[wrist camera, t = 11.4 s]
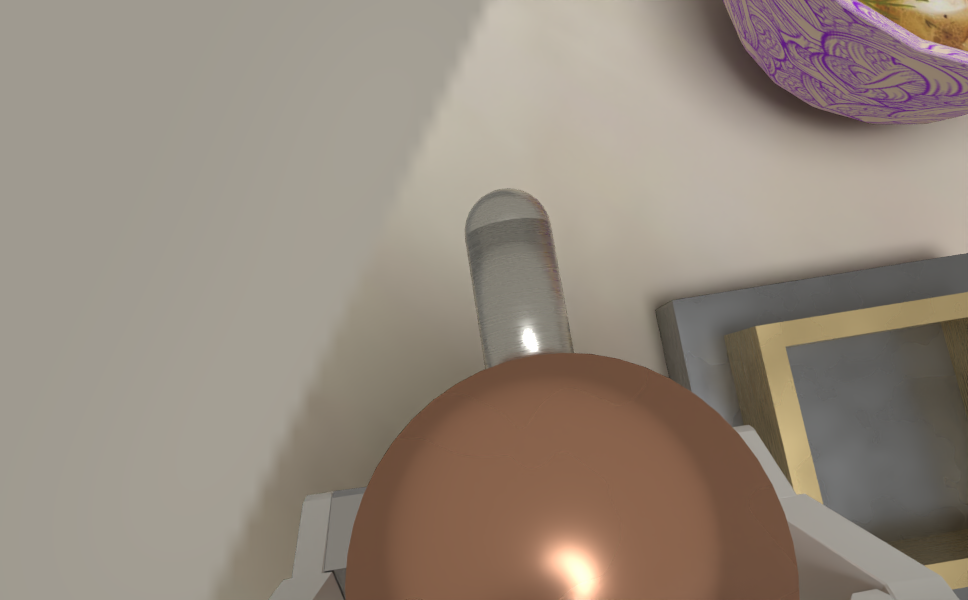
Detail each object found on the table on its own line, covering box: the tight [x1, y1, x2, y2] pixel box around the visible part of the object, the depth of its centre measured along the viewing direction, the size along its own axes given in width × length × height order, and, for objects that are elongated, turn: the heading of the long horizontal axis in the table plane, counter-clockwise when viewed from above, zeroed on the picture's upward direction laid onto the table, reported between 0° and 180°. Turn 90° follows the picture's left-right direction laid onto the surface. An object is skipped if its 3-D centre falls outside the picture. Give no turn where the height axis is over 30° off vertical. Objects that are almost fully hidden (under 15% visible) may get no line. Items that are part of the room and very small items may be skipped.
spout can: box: [345, 188, 800, 600], centre depth 13 cm, size 5×8×11 cm
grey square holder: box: [656, 253, 968, 600], centre depth 28 cm, size 15×15×6 cm
